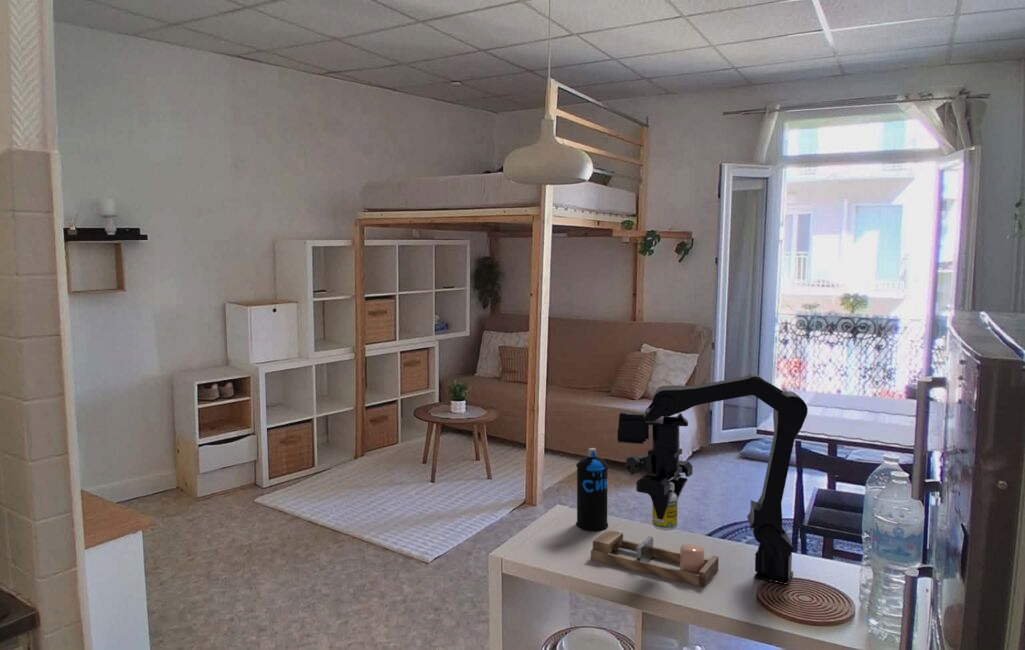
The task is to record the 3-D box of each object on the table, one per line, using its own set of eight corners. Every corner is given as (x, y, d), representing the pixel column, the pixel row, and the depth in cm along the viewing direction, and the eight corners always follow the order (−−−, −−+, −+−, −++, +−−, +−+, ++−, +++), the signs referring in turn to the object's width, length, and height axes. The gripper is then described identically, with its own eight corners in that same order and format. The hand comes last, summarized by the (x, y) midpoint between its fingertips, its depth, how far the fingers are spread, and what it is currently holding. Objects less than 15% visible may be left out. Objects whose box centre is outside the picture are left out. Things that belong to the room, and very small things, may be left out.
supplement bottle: (661, 520, 156) (661, 478, 155) (682, 526, 152) (682, 483, 151) (647, 526, 152) (647, 483, 151) (668, 533, 148) (668, 489, 147)
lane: (718, 569, 151) (718, 552, 151) (704, 587, 143) (704, 568, 143) (608, 544, 165) (609, 528, 165) (590, 559, 157) (590, 541, 157)
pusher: (652, 556, 158) (653, 537, 157) (640, 567, 152) (640, 547, 151) (624, 549, 162) (624, 531, 161) (611, 560, 155) (611, 541, 155)
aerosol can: (571, 521, 180) (571, 446, 179) (600, 518, 183) (600, 443, 181) (583, 533, 172) (583, 454, 171) (613, 529, 175) (614, 451, 173)
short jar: (707, 572, 150) (707, 547, 149) (700, 580, 146) (700, 555, 145) (684, 567, 153) (684, 542, 152) (676, 575, 148) (677, 550, 148)
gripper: (647, 431, 163) (646, 496, 164) (613, 449, 147) (613, 521, 148) (693, 437, 157) (692, 505, 158) (663, 456, 141) (663, 531, 142)
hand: (665, 514), depth 152 cm, fingers closed on supplement bottle, 5 cm apart
